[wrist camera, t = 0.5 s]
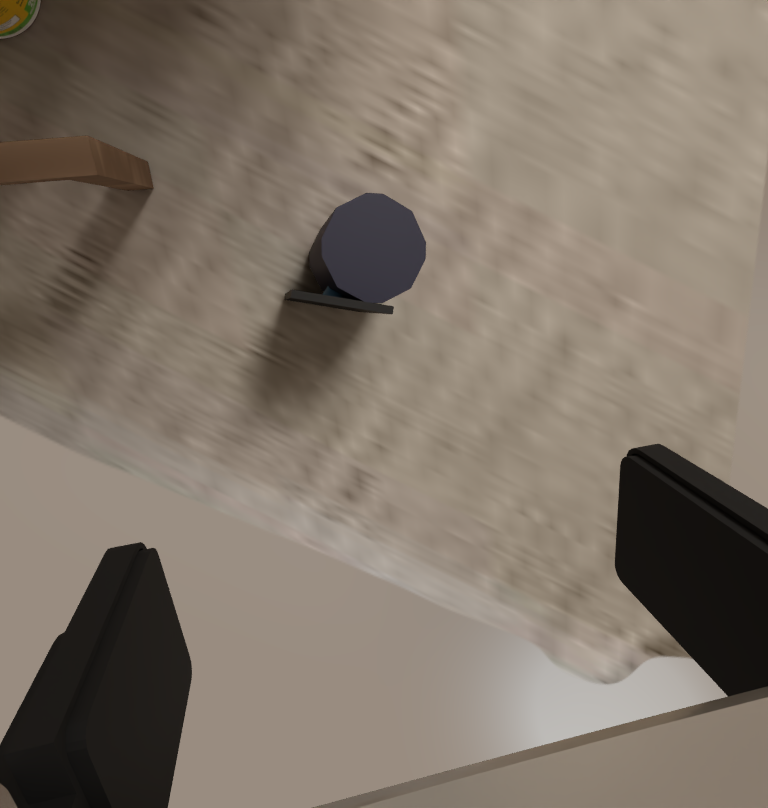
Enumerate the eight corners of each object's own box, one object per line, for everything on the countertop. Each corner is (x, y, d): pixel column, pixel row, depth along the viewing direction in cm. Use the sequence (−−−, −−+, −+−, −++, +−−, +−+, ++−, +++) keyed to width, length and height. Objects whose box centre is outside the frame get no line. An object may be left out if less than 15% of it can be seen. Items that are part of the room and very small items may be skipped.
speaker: (355, 339, 38) (382, 358, 28) (282, 298, 36) (284, 303, 27) (408, 244, 37) (455, 229, 27) (336, 198, 36) (358, 164, 26)
